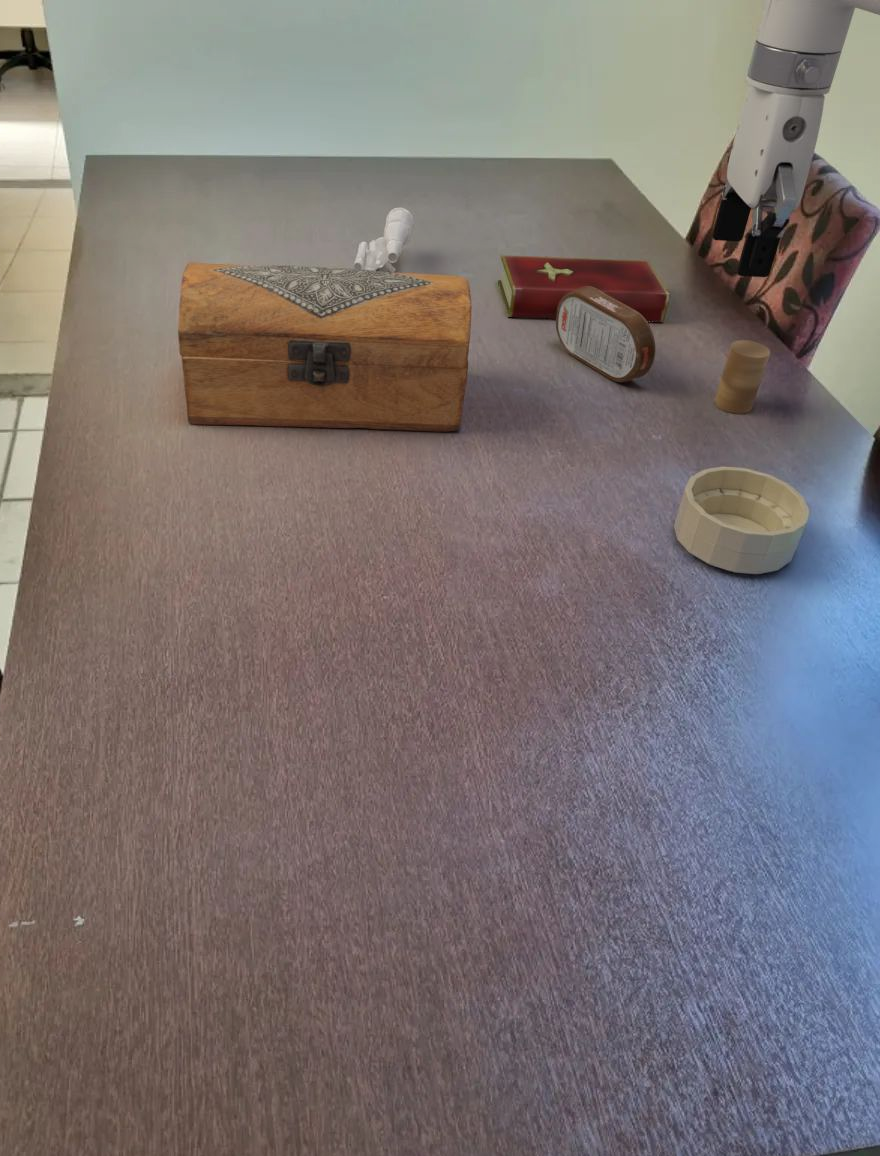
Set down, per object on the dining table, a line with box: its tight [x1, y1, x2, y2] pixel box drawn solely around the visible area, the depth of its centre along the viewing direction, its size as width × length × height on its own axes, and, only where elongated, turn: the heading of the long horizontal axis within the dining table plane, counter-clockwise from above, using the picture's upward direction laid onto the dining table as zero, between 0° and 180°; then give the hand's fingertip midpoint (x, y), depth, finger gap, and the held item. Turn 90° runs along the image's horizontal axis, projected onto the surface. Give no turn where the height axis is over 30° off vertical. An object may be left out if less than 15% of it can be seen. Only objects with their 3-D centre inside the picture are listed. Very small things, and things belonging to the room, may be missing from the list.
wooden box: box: [177, 261, 473, 433], centre depth 106 cm, size 30×16×14 cm, turn 90°
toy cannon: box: [352, 207, 415, 273], centre depth 137 cm, size 8×14×5 cm
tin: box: [555, 286, 656, 383], centre depth 117 cm, size 15×3×8 cm, turn 34°
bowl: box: [673, 466, 811, 575], centre depth 92 cm, size 11×11×5 cm
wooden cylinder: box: [713, 339, 771, 415], centre depth 112 cm, size 4×4×7 cm
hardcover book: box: [497, 254, 671, 323], centre depth 133 cm, size 12×21×4 cm, turn 93°
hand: (738, 257), depth 100 cm, fingers open, 9 cm apart
